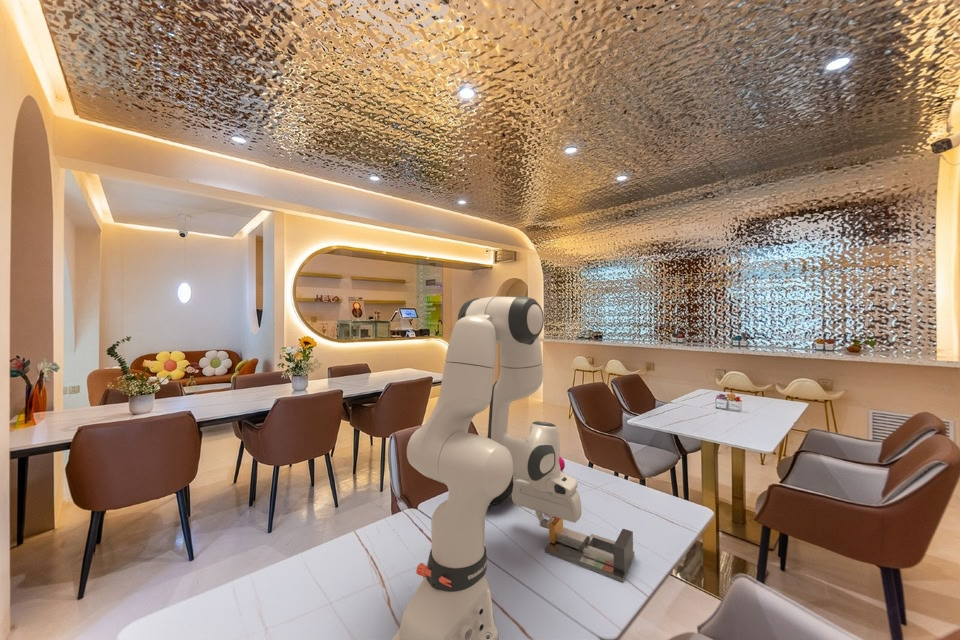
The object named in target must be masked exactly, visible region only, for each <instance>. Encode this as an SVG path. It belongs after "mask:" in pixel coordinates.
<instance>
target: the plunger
mask: <svg viewBox="0 0 960 640" xmlns="http://www.w3.org/2000/svg"><path fill="white" fill-rule="evenodd" d="M548 541H549V543H550V542H551V543H554V544H555V543H556V541H557V542H560V543H562V544H565V545H568V546H571V547H574V548H576V549H579V551H581V552H582V551H583V550H584V548H585V546H586V545H589V546H592V547H593V537H590V535H587V534H584V533H581V532H577V531H575V530H572V529H569V528H565V527H564V519H561V518H558V517H555V518H553V520H552V521H551V523H550V524H549V529H548Z"/></svg>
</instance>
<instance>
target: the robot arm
mask: <svg viewBox="0 0 960 640" xmlns="http://www.w3.org/2000/svg"><path fill="white" fill-rule="evenodd" d="M544 316H545V315H544V312H543V309H542V306H541V305H540V304H539V302H538V301H537V300H536V299H535V298H532V297H528V296H521V295H520V296H517V297H516V296H501V295H499V296H497V295H496V296H488V297H487V296H486V297H483V298H482V297H481V298H480V297H478V298H477V297H476V298H473V299H470V300H467V301H466V302H464V303H463V304H462V306H461V307H460V309H459V311H458V316H457V321H456V323H455V324H454V327H453V330H452V332H451V334H450V335H451V336H450V338H449V342H448V346H447V349H446V354H445V359H444V367H443V372H442V379H441V383H440V390H439V394H438V398H437V401H436V404H435V405H434V406H435V407H434V408H433V410H432V412H431V414H430V416H429V417H428V419H427V420H426V421H425V423H424V424H423V425H422V426H420V427H419V428H417V429H416V430H415V431H414V432H413V433H412V434H411V436H410V437H409V441H408V443H407V447H406V458H407V462H408V463H409V465H411V466H412V467H413V469H415V470H416V471H417V472H419V473H420V474H422V475H423V476H424V477H426V478H428V479H432V480H434V481H436V482H439V483H442V484H444V485H446V487H447V489H448V498H447V499H446V500H444V501H442V502H441V503H440V504H438V505H437V507H436V508H435V510H434V511H433V513H432V515H431V520H430V522H431V524H430V525H431V527H430V529H431V531H430V532H431V549H430V551H429V556H428V559H427V564H426V565H425V564H424V563H423V562H420V563H419V564H418V565H417V567H416V571H415V572H416V574H417V575H418V576H420V577H422V581H421V582H420V584H419V586H417V589H416V591H415V592H414V595H412V597H411V600H410V601H409V602H408V605H407V606H406V608H405V609H404V611H403V613H402V617H401V619H400V620H401V621H400V628H398V630H397V632H395V634H394V635H393V637H391V639H390V640H497V639H499V631H498V628H497V626H496V623H495V620H494V611H493V610H494V609H493V601H492V592H491V588H490V585H489V581H488V578H487V570H488V554H487V548H486V545H485V538H486V537H485V535H486V534H485V532H486V530H485V528H486V526H485V525H486V516H487V511H488V508H489V505H491V504H490V502H491V501H492V500H493V499H494V498H495V497H497V496H499V495H500V494H502V493H503V492H504V491H505V490H506V488H507V487H508V485H509V484H510V482H511V479H512V476H513V484H514V485H513V491H512V494H511V500H512V502H513V504H514V505H517V506H519V507H522V508H526V509H529V510H532V511H535V515H536V518H537V519H538V521H539V527H540V528H544V529H547V530H549V524H550V523H551V522H552V520H553V519H554V517H558V518H561V519H563V521H568V522H571V523H575V524H576V523H577V522H578V521H579V520H580V519H581V517H582V502H581V501H582V500H581V495H580V493H579V492H578V490H577V489H578V485H579V484H578V481H577V480H576V479H575V478H573V477H571V476H569V475H568V474H566V473H565V472H564V471H563V472H562V471H560V464H559V457H561V441H560V440H561V439H560V433H559V428H558V427H557V425H556V424H555V423H550V422H546V421H540V420H539V421H533V422H531V423H530V427H529V435H528V436H527V437H526V438H525V439H523V438H519V437H514V436H512V435H511V434H509V432H508V427H509V426H508V424H509V413H510V405H511V404H512V403H513V402H516V401H518V400H522V399H525V398H527V397H529V396H531V395H533V394H535V393H536V392H537V391H538V390H539V388H540V387H541V386H542V383H543V378H544V366H543V364H544V363H543V353H542V347H541V342H540V337H539V336H540V335H541V333H542V330H543V327H544V321H545V320H544ZM498 343H499V362H500V363H499V365H500V372H499V376H498V380H496V381H495V382H494V380H495V371H496V370H495V369H496V364H497V344H498ZM488 407H489V411H488V412H489V413H488V425H487V426H488V427H487V436H482V435H479V434H474V433H471V432H469V428H470V424H471V422H472V420H473V419H474V417H475V416H476V415H478V414H479V413H481V412H484V411H485V410H486V409H487V408H488ZM543 514H545V515H547V518H548V519H546V518H544V515H543ZM487 638H489V639H487Z"/></svg>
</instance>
